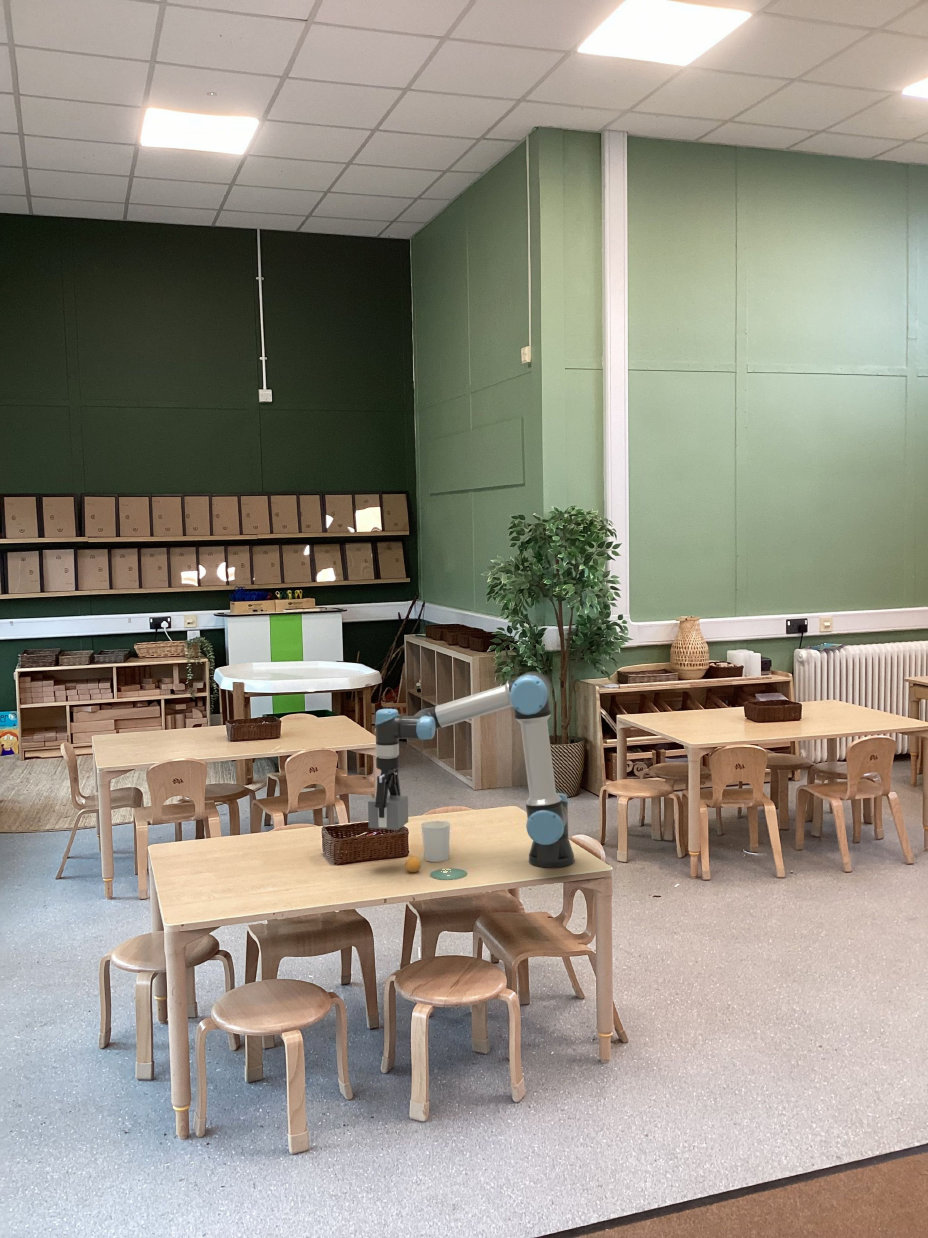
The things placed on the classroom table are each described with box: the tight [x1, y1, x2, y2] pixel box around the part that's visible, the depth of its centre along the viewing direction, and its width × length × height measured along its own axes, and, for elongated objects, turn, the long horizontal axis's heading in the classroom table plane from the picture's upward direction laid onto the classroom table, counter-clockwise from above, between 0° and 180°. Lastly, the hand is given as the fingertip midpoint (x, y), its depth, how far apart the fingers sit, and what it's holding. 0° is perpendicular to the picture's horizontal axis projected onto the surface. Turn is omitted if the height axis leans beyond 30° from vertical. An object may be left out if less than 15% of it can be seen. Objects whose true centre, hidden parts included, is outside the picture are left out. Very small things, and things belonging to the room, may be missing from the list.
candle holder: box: [421, 820, 451, 863], centre depth 367 cm, size 10×10×12 cm
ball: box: [405, 856, 422, 873], centre depth 353 cm, size 5×5×5 cm
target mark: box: [429, 867, 468, 881], centre depth 350 cm, size 12×12×1 cm
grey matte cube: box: [367, 794, 409, 831], centre depth 356 cm, size 10×10×9 cm
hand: (388, 822), depth 356 cm, fingers closed on grey matte cube, 10 cm apart
